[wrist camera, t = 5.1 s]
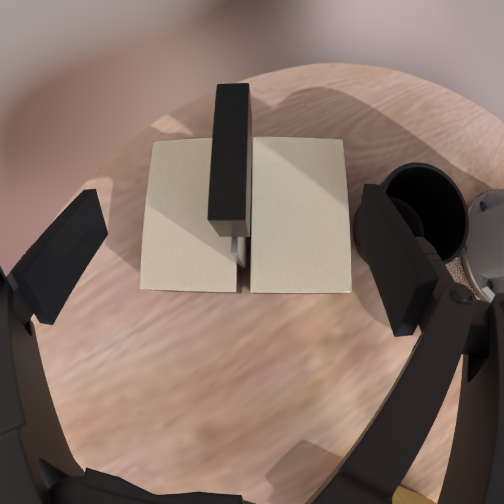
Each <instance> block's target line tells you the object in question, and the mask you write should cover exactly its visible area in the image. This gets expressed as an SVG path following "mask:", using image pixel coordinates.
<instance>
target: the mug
mask: <svg viewBox="0 0 504 504" xmlns="http://www.w3.org/2000/svg"><path fill="white" fill-rule="evenodd" d="M380 186H381V188H382V189H383V190H384V192H385V193H386V195H387V196H388V197H389V199H390V200H391V202H392V203H393V205H394V206H395V207H396V209H397V210H398V212H399V213H400V215H401V216H402V218H403V219H404V221H405V222H406V224H407V225H408V227H409V228H410V230H411V231H412V233H413V235H414V236H415V237H423V238H424V239H425V240H427V241H428V242H429V243H430V244H432V246H433V247H434V249H435V250H436V252H437V255H439V257H440V258H441V261H443V263H444V265H446V264H448V263H449V262H451V261H453V260H454V259H455V258H456V257H460V256H464V255H465V254H466V252H467V246H466V245H465V242H466V239H467V236H468V230H469V217H468V211H467V206H466V203H465V200H464V198H463V196H462V194H461V192H460V190H459V188H458V187H457V185H456V184H455V183H454V182H453V180H452V179H451V178H450V177H449V176H448V175H446V174H445V173H444V172H443V171H441V170H440V169H438V168H436V167H434V166H432V165H429V164H425V163H408V164H405V165H402V166H400V167H398V168H397V169H395V170H394V171H393V172H392V173H391V174H390V175H389V176H388V177H387V178H386V179H385V180H384V181H383V182H382V183H381V184H380ZM360 208H361V206H360V207H359V209H358V211H357V213H356V215H355V219H354V225H353V234H354V241H355V244H356V247H357V249H358V251H359V253H360V255H361V256H362V258H363V259H364V261H365V262H366V263H367V264H368V261H367V259H366V256H365V254H364V251H363V249H362V246H361V244H360V241H359V239H358V237H357V234H356V231H357V226H358V220H359V214H360ZM368 265H369V264H368Z"/></svg>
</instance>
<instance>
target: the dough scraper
mask: <svg viewBox="0 0 504 504" xmlns="http://www.w3.org/2000/svg"><path fill="white" fill-rule="evenodd" d="M251 148H252V113H251V101H250V89H249V83H233V84H218V85H217V90H216V100H215V112H214V123H213V136H212V149H211V163H210V178H209V195H208V214H207V220H208V221H209V223H210V224H211V226H212V227H213V228H214V230H215V231H216V232H217V234H218V235H219V236H220V237H231V255H232V256H233V257H234V259H235V260H236V261H237V263H238V264H239V265H240V267H241V268H246V238H247V237H250V203H251Z"/></svg>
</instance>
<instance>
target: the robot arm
mask: <svg viewBox="0 0 504 504" xmlns="http://www.w3.org/2000/svg"><path fill="white" fill-rule="evenodd" d="M467 211H468V217H469V230H468V236H467V239H466V242H465V245H466V246H467V252H466V254H465V255H464V256H461V260H462V264H463V268H464V271H465V274H466V277H467V279H468V281H469V283H470V285H471V287H472V288H473V290H474V291H475V293H476V294H477V295H478V296H479V297H480V298H481V299H482V300H483V301H481V300H477V299H476V297H475V295H474V293H473V292H472V291H471V290H470V289H469V288H468V287H466V286H465V285H463V284H460V283H456V282H455V281H454V279H453V278H452V276H451V274H450V273H449V271H448V270H447V268H446V266H445V265H444V263H443V261H441V258H440V257H439V255H437V252H436V250H435V249H434V247H433V246H432V244H430V243H429V242H428V241H427V240H425V239H424V238H423V237H415V236H414V235H413V233H412V231H411V230H410V228H409V227H408V225H407V224H406V222H405V221H404V219H403V218H402V216H401V215H400V213H399V212H398V210H397V209H396V207H395V206H394V205H393V203H392V202H391V200H390V199H389V197H388V196H387V195H386V193H385V192H384V190H383V189H382V188H381V186H380V185H376V184H364V189H363V196H362V202H361V208H360V214H359V220H358V226H357V231H356V234H357V237H358V239H359V241H360V244H361V246H362V249H363V251H364V254H365V256H366V259H367V261H368V264H369V266H370V269H371V272H372V274H373V277H374V280H375V282H376V285H377V288H378V290H379V293H380V296H381V299H382V302H383V304H384V307H385V310H386V313H387V316H388V319H389V322H390V325H391V328H392V331H393V334H394V337H397V336H408V335H413V333H414V332H415V330H416V328H417V326H418V324H419V327H420V329H421V332H422V333H421V335H420V337H419V339H418V341H417V342H416V344H415V346H414V348H413V350H412V352H411V354H410V356H409V358H408V360H407V362H406V364H405V365H404V367H403V369H402V371H401V372H400V374H399V376H398V378H397V379H396V381H395V383H394V385H393V386H392V388H391V390H390V391H389V393H388V395H387V396H386V398H385V399H384V401H383V403H382V404H381V406H380V407H379V409H378V410H377V412H376V413H375V415H374V417H373V418H372V420H371V421H370V423H369V424H368V425H367V427H366V428H365V430H364V431H363V433H362V434H361V435H360V437H359V438H358V440H357V441H356V442H355V444H354V445H353V447H352V448H351V449H350V451H349V452H348V453H347V455H346V456H345V457H344V458H343V460H342V461H341V462H340V464H339V465H338V466H337V467H336V469H335V470H334V471H333V472H332V474H331V475H330V476H329V477H328V478H327V480H326V481H325V482H324V483H323V484H322V486H321V487H320V488H319V489H318V490H317V491H316V492H315V493H314V494H313V495H312V496H311V498H310V499H309V500H308V501H307V502H306V503H305V504H392V497H393V495H394V493H395V491H396V489H397V488H398V486H399V485H400V483H401V481H402V480H403V478H404V477H405V475H406V473H407V472H408V470H409V468H410V466H411V465H412V463H413V461H414V460H415V458H416V456H417V454H418V452H419V450H420V449H421V447H422V445H423V443H424V441H425V439H426V437H427V435H428V433H429V431H430V429H431V427H432V425H433V423H434V421H435V419H436V417H437V414H438V412H439V410H440V408H441V405H442V403H443V401H444V399H445V396H446V394H447V391H448V389H449V386H450V384H451V381H452V379H453V376H454V373H455V371H456V368H457V365H458V362H459V360H460V357H461V354H463V367H462V380H461V390H460V399H459V407H458V414H457V421H456V427H455V433H454V438H453V443H452V448H451V453H450V458H449V462H448V467H447V471H446V475H445V478H444V482H443V486H442V489H441V493H440V496H439V500H438V503H437V504H504V189H495V190H491V191H487V192H485V193H483V194H481V195H479V196H478V197H476V198H475V199H473V200H472V202H471V203H470V204H469V205H468V207H467ZM107 235H108V231H107V228H106V224H105V221H104V218H103V214H102V210H101V207H100V203H99V199H98V196H97V192H96V189H89V190H83V191H82V192H81V193H80V194H79V195H78V196H77V197H76V198H75V199H74V200H73V201H72V202H71V203H70V204H69V206H68V207H67V208H66V209H65V210H64V211H63V212H62V213H61V214H60V215H59V216H58V217H57V218H56V219H55V220H54V221H53V223H52V224H51V225H50V226H49V227H48V228H47V229H46V230H45V232H44V233H43V234H42V235H41V236H40V237H39V238H38V240H37V241H36V242H35V243H34V244H33V245H31V247H30V248H29V249H28V250H27V251H26V254H24V255H23V256H22V258H21V260H19V261H18V262H17V264H16V265H15V266H14V268H13V269H12V270H11V272H10V273H9V274H8V275H7V277H6V276H5V274H4V272H3V270H2V268H1V266H0V504H255V503H252V502H249V501H245V500H243V498H242V496H241V495H231V494H217V493H206V492H192V493H181V494H166V495H156V494H152V493H150V492H148V491H146V490H144V489H142V488H140V487H138V486H135V485H133V484H131V483H130V482H128V481H126V480H124V479H122V478H120V477H117V476H113V475H110V474H106V473H102V472H99V471H96V470H92V469H89V468H86V471H85V472H84V471H83V469H82V468H81V467H80V466H79V465H78V463H77V462H76V461H75V459H74V458H73V456H72V454H71V451H70V449H69V446H68V444H67V441H66V439H65V436H64V434H63V431H62V428H61V425H60V423H59V420H58V417H57V414H56V411H55V408H54V405H53V401H52V398H51V395H50V391H49V388H48V384H47V381H46V377H45V373H44V369H43V365H42V361H41V357H40V352H39V348H38V343H37V338H36V333H35V328H34V324H33V322H32V321H31V317H32V315H33V314H35V316H36V317H37V319H38V321H39V322H40V323H43V324H49V325H53V324H54V322H55V320H56V318H57V317H58V315H59V313H60V311H61V309H62V308H63V306H64V304H65V302H66V301H67V299H68V297H69V295H70V294H71V292H72V290H73V289H74V287H75V285H76V284H77V282H78V280H79V279H80V277H81V275H82V274H83V272H84V271H85V269H86V267H87V266H88V264H89V263H90V261H91V260H92V258H93V256H94V255H95V253H96V252H97V250H98V249H99V247H100V246H101V244H102V243H103V241H104V240H105V238H106V237H107Z"/></svg>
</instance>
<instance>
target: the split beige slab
mask: <svg viewBox="0 0 504 504" xmlns="http://www.w3.org/2000/svg"><path fill="white" fill-rule="evenodd" d="M211 149H212V138H195V139H179V140H165V141H154V142H153V148H152V155H151V162H150V169H149V177H148V185H147V194H146V203H145V213H144V224H143V236H142V250H141V267H140V289H147V290H157V291H172V292H201V293H242V268H241V267H240V265H239V264H238V263H237V261H236V260H235V259H234V257H233V256H232V255H231V237H220V236H219V235H218V234H217V232H216V231H215V230H214V228H213V227H212V226H211V224H210V223H209V221H208V220H207V214H208V195H209V178H210V163H211ZM250 292H252V293H254V294H337V293H348V292H351V247H350V224H349V206H348V192H347V179H346V168H345V157H344V148H343V140H340V139H324V138H302V137H253V159H252V219H251V280H250Z"/></svg>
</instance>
